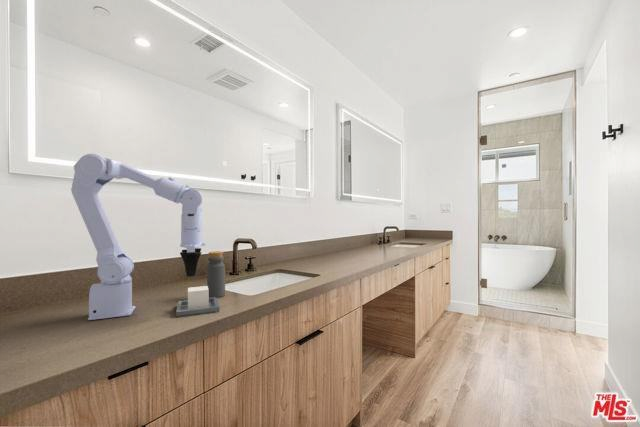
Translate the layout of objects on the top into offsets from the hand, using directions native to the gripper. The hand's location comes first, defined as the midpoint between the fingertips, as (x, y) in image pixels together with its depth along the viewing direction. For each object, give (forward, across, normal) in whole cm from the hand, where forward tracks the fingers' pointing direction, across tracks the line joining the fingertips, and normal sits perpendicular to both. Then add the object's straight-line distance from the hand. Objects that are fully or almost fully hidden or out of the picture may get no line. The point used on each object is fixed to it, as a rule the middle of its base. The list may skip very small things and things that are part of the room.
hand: (191, 273), depth 87 cm
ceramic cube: (+9, -4, -2) cm, 10 cm away
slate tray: (+10, -4, -2) cm, 11 cm away
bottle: (+10, +10, -8) cm, 16 cm away
